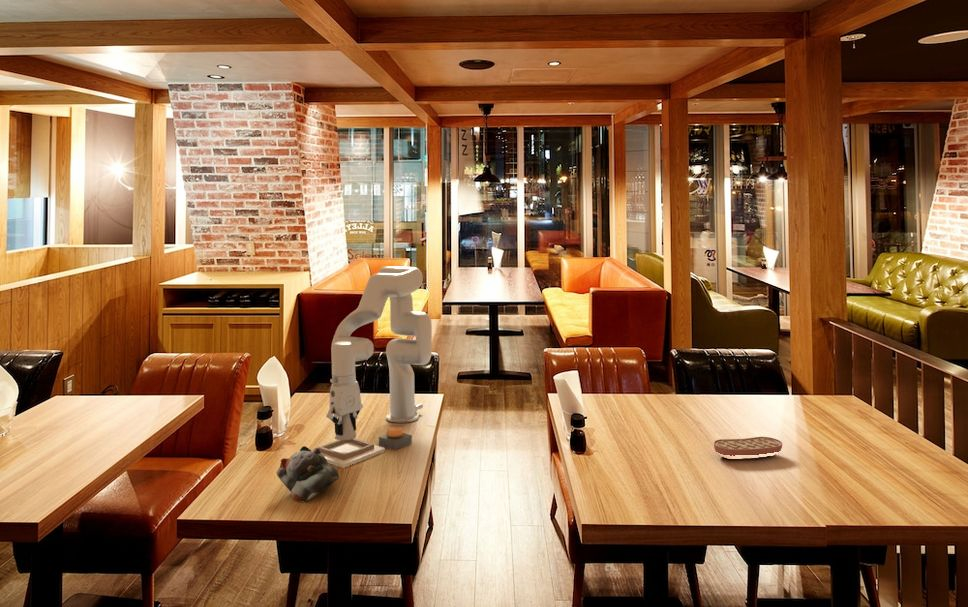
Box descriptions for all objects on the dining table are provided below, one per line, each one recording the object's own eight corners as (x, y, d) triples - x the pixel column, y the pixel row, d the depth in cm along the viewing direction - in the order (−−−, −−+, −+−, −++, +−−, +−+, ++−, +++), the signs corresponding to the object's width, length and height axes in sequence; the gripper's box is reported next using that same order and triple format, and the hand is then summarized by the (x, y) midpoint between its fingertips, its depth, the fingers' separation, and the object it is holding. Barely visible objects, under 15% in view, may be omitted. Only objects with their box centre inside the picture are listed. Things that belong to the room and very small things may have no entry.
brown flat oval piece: (770, 450, 216) (771, 435, 216) (789, 461, 207) (790, 446, 206) (707, 454, 213) (708, 440, 212) (723, 466, 203) (724, 450, 202)
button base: (395, 438, 227) (395, 430, 227) (411, 443, 223) (411, 435, 222) (378, 445, 221) (378, 436, 221) (395, 450, 216) (395, 441, 216)
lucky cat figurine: (297, 507, 174) (274, 461, 175) (289, 507, 185) (268, 464, 185) (346, 479, 182) (324, 435, 183) (336, 481, 192) (315, 439, 193)
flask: (351, 442, 208) (350, 412, 207) (330, 440, 210) (329, 411, 209) (360, 434, 215) (359, 405, 214) (340, 433, 217) (339, 404, 216)
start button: (395, 437, 226) (395, 425, 225) (407, 441, 222) (407, 429, 222) (383, 442, 221) (382, 430, 221) (395, 446, 218) (395, 433, 217)
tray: (349, 440, 226) (348, 432, 226) (384, 451, 215) (384, 443, 215) (307, 455, 212) (306, 447, 211) (343, 468, 201) (343, 460, 201)
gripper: (330, 386, 201) (332, 442, 203) (371, 375, 214) (372, 427, 217) (315, 382, 205) (317, 437, 208) (356, 372, 219) (357, 423, 221)
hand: (345, 431), depth 212 cm, fingers closed on flask, 4 cm apart
